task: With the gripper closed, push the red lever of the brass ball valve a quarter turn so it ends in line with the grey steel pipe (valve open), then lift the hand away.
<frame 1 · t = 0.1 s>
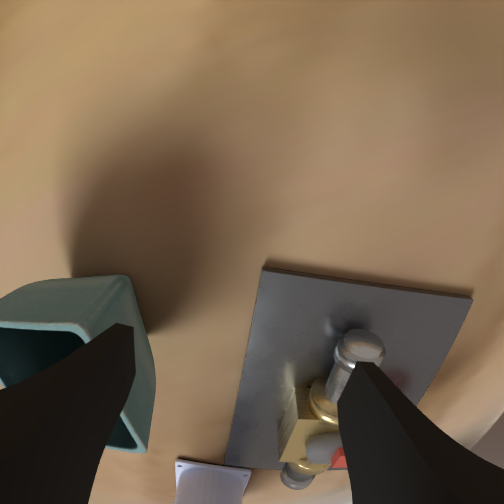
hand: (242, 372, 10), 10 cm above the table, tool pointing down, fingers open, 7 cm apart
flower pot: (110, 306, 21), on the table
valve body: (320, 408, 24), on the table
lever: (376, 451, 19), point 5 cm above the table, hinge at 0.0°
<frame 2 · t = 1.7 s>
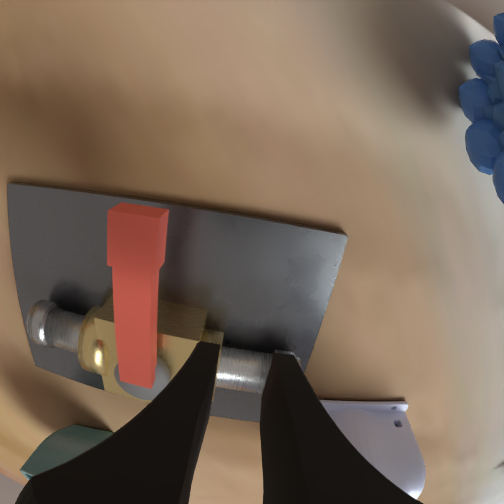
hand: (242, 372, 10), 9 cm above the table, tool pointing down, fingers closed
grapes: (474, 105, 14), on the table
flower pot: (101, 438, 27), on the table
valve body: (161, 333, 20), on the table
lever: (137, 322, 15), point 5 cm above the table, hinge at 0.0°
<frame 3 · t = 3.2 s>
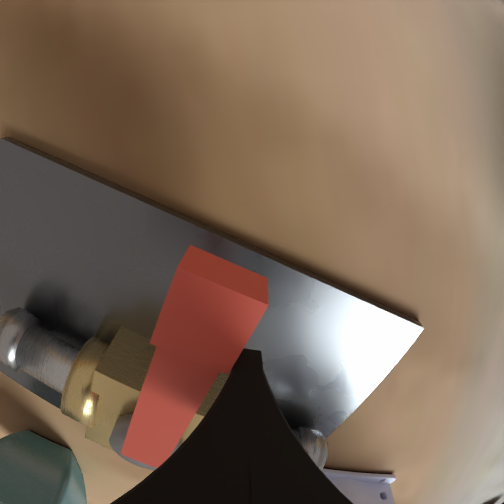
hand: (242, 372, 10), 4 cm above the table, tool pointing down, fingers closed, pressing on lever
flower pot: (55, 449, 21), on the table
valve body: (165, 382, 16), on the table
lever: (165, 403, 10), point 5 cm above the table, hinge at 0.5°, touching gripper
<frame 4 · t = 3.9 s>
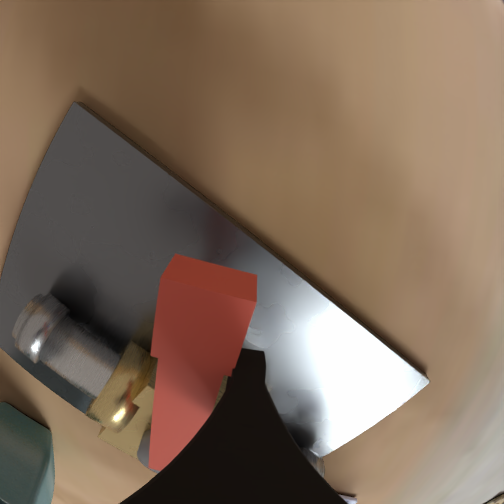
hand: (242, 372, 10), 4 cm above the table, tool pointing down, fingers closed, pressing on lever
flower pot: (30, 425, 20), on the table
valve body: (188, 391, 16), on the table
lever: (181, 412, 10), point 5 cm above the table, hinge at 24.3°, touching gripper
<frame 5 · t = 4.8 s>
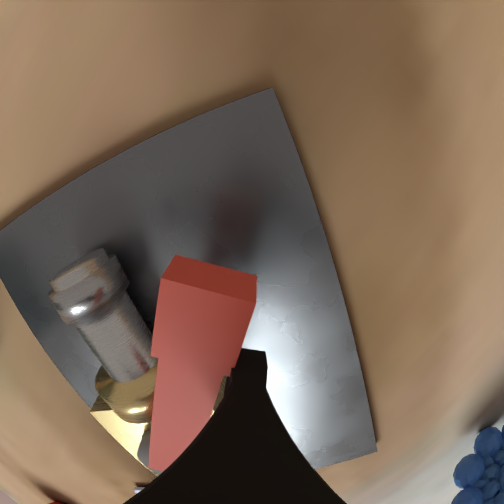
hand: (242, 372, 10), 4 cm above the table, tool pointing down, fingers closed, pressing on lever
grapes: (481, 433, 19), on the table
valve body: (188, 391, 16), on the table
lever: (181, 412, 10), point 5 cm above the table, hinge at 53.9°, touching gripper
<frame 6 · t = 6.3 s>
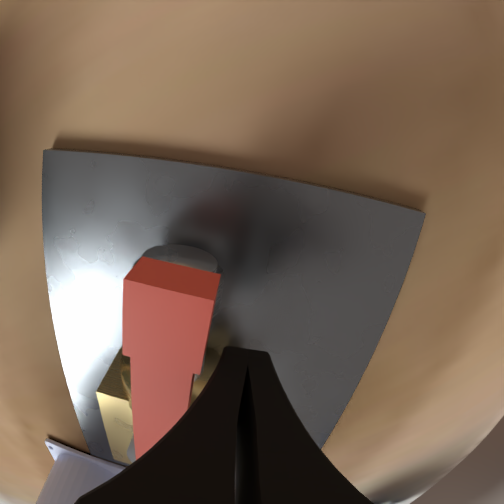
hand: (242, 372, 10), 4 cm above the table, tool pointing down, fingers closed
valve body: (179, 393, 16), on the table
lever: (163, 411, 10), point 5 cm above the table, hinge at 87.3°
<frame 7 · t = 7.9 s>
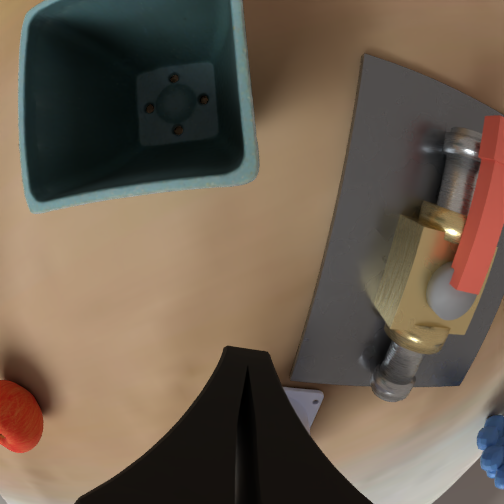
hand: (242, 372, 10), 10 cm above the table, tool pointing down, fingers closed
grapes: (485, 422, 25), on the table
apple: (25, 395, 25), on the table
flower pot: (179, 103, 17), on the table
valve body: (421, 264, 19), on the table
lever: (481, 223, 13), point 5 cm above the table, hinge at 87.4°
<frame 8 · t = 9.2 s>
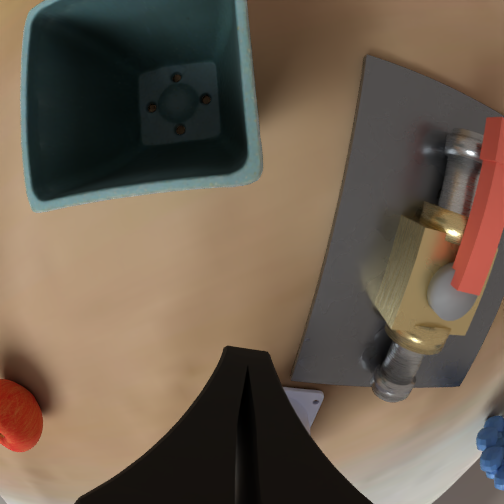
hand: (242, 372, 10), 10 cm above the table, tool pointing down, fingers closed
grapes: (484, 423, 25), on the table
apple: (25, 395, 25), on the table
flower pot: (181, 103, 17), on the table
valve body: (422, 265, 19), on the table
lever: (482, 224, 13), point 5 cm above the table, hinge at 87.4°
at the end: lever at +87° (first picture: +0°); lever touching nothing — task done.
